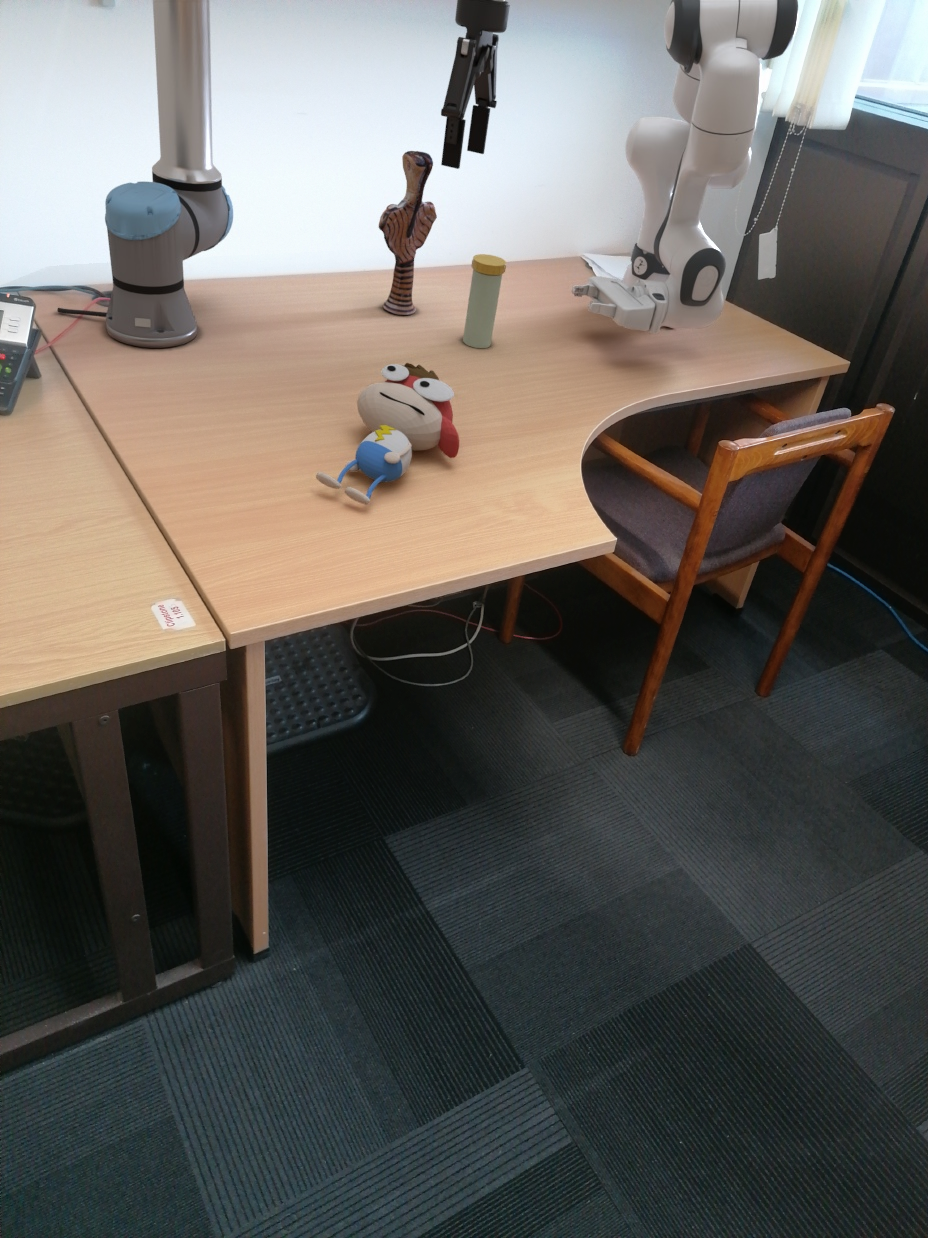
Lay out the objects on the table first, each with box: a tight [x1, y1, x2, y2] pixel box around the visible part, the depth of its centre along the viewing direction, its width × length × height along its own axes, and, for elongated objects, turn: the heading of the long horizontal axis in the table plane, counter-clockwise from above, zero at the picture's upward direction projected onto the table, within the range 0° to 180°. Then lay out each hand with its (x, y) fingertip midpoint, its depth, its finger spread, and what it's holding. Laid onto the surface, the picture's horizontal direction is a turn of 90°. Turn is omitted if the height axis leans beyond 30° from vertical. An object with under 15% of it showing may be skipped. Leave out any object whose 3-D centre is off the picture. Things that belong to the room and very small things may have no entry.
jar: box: [462, 268, 503, 349], centre depth 171 cm, size 6×6×16 cm
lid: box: [470, 253, 507, 275], centre depth 166 cm, size 6×6×2 cm
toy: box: [315, 362, 460, 505], centre depth 132 cm, size 18×10×30 cm
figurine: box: [378, 150, 438, 316], centre depth 174 cm, size 15×8×30 cm, turn 144°
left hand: (463, 159), depth 139 cm, fingers open, 13 cm apart
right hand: (581, 298), depth 175 cm, fingers open, 8 cm apart
